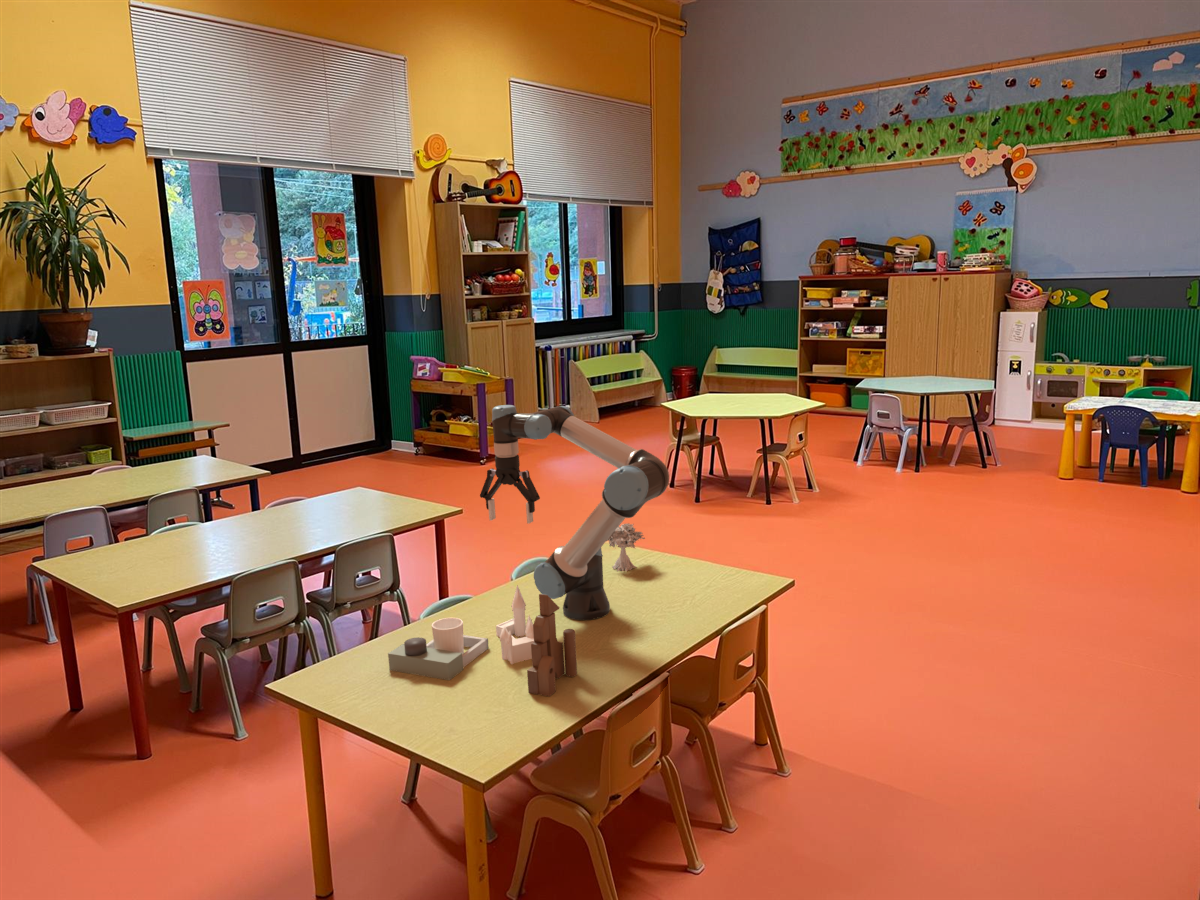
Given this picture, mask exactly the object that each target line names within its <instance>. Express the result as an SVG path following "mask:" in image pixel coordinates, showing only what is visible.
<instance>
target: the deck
mask: <svg viewBox="0 0 1200 900" xmlns="http://www.w3.org/2000/svg"><path fill="white" fill-rule="evenodd" d="M463 639H464V648H465V647H466V648H469V649H467V650H466V651H464V654H462V653H459V652H453V651H446V650H440V649H435V647H434V639H431V640H430V641H429V642H428V643H427V640H426V638H424V637H420V636H419V637H411V638H409V639H407V640H405V641H404V642H403V643H402V644H400V645H399V646H397V647H396V648H394V649H393V650H391V651H389V652H388V653H387V657H388V669H389V671H393V672H400V673H404V674H411V675H417V676H422V677H428V678H433V679H440V680H446V681H450V680H452V679H453V678H454V677H455V676H457V675H459V674H460V673H461V672H462V671H464V668H465V667H466V666H467V665H468V664H470V663H472V662H473V660H475V659H476V658H478V657H479V656H480V655H481V654H483V653H484V652H485V651H487V650H488V649H489V638H487V637H479V636H473V635H467V634H463Z"/></svg>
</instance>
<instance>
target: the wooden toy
mask: <svg viewBox="0 0 1200 900" xmlns="http://www.w3.org/2000/svg"><path fill="white" fill-rule="evenodd" d="M538 600H539V601H538V602H539V614H538V615H536V617H535V619H534V622H533V634H534V641H535V642H533V643H532V644H531V652H532V659H531V666H530V668H527V671H526V673H527V677H526V678H527V687H528V688H527V691H528V693H529V694H534V695H540V696H545V697H551V696H552V695H553V694H555V693H556V691H557V689H556V687H557V686H556V679H560V678H561V677H562V676H564V675H565V676H566V677H568V678H569V677H571V678H572V677H575V676H577V674H578V663H577V647H576V645H577V644H576V630H575V629H573V628H566V629H564V630H563V631H562V635H563V637H562V639H563V642H562V641H559V640H558V638H557V629H556V627H557V626H556V612H557V611H558V610H560V607H559V605H558V604H557V603H556V602H554V601H553V600H554V599H551V598H550V597H549V596H548V595H545V594H541V593H539V594H538Z"/></svg>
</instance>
